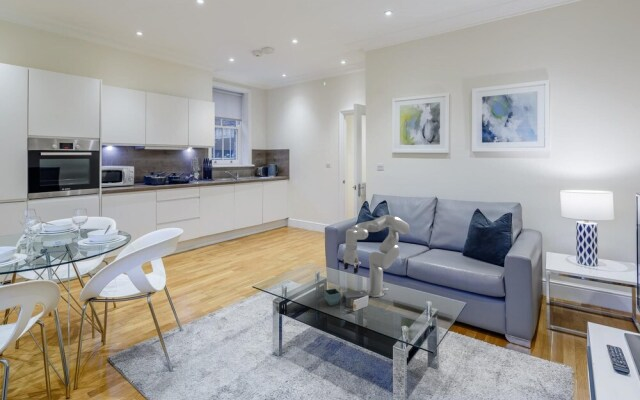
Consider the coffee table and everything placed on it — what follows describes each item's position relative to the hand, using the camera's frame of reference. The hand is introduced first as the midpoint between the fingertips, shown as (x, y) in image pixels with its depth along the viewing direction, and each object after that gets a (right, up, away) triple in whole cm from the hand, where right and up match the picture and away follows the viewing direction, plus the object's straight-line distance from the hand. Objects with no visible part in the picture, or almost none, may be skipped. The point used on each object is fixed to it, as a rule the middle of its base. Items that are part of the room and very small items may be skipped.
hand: (350, 271), depth 241 cm
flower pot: (-13, -23, -1) cm, 26 cm away
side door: (+6, -23, -8) cm, 26 cm away
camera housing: (+3, -22, 0) cm, 23 cm away
